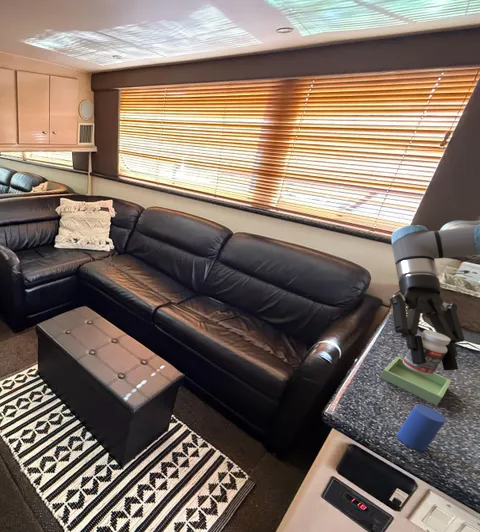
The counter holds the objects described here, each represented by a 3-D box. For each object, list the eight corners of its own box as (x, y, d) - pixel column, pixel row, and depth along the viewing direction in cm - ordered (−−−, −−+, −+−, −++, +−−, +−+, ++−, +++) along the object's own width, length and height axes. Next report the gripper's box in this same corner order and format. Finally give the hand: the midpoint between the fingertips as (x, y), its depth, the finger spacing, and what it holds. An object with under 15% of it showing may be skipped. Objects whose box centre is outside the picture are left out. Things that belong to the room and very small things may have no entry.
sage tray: (446, 388, 96) (451, 380, 95) (436, 405, 88) (442, 397, 87) (392, 363, 106) (397, 356, 104) (379, 377, 97) (383, 369, 96)
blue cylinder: (427, 445, 75) (447, 416, 71) (422, 454, 72) (443, 425, 69) (399, 429, 78) (417, 401, 75) (394, 438, 76) (412, 409, 72)
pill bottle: (421, 376, 77) (441, 342, 74) (396, 361, 83) (414, 328, 79) (439, 375, 78) (460, 341, 75) (413, 360, 84) (431, 328, 80)
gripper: (445, 290, 87) (465, 377, 78) (368, 278, 90) (378, 359, 81) (473, 280, 80) (499, 374, 71) (388, 267, 83) (402, 355, 74)
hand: (435, 366), depth 76 cm, fingers closed on pill bottle, 6 cm apart
